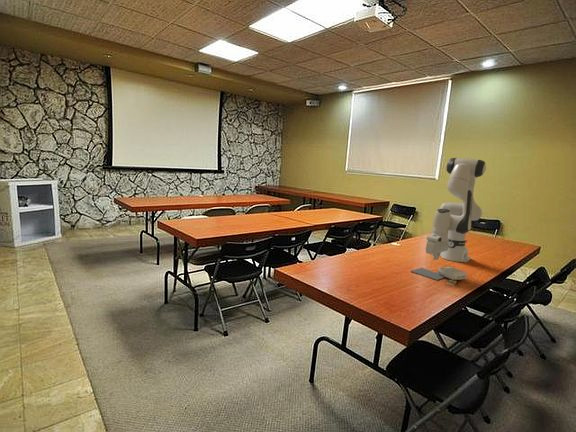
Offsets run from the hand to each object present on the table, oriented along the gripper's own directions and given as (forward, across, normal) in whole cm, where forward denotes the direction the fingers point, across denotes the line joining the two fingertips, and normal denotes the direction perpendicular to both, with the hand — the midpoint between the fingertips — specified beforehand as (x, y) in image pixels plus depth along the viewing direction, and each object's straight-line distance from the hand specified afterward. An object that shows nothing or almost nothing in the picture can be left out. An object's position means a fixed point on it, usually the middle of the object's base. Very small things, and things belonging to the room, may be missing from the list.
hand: (435, 259), depth 192 cm
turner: (+8, +5, +14) cm, 17 cm away
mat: (+8, +6, 0) cm, 10 cm away
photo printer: (+6, -2, +5) cm, 8 cm away
